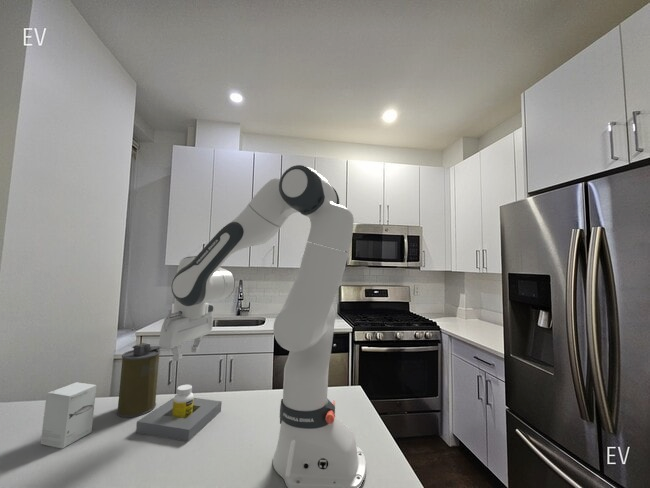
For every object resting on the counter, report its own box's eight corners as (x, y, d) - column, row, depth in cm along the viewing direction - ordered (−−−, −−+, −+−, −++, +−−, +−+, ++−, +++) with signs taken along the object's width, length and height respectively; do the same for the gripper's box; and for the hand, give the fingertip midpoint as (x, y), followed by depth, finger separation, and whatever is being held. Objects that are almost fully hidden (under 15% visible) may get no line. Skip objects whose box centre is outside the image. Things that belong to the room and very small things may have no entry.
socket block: (220, 411, 90) (221, 398, 90) (188, 441, 74) (189, 426, 74) (176, 404, 92) (177, 392, 93) (135, 433, 77) (137, 418, 77)
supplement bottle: (186, 427, 80) (188, 391, 81) (167, 426, 80) (170, 390, 81) (195, 416, 86) (197, 383, 86) (177, 415, 86) (180, 382, 87)
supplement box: (62, 449, 69) (68, 396, 70) (39, 444, 71) (45, 392, 72) (92, 432, 76) (97, 384, 77) (71, 428, 78) (76, 381, 79)
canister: (132, 420, 82) (138, 351, 84) (108, 413, 86) (114, 346, 87) (164, 404, 93) (169, 342, 94) (141, 398, 96) (146, 338, 98)
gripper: (175, 315, 75) (171, 368, 74) (217, 305, 95) (214, 347, 94) (154, 314, 76) (150, 366, 75) (200, 304, 96) (197, 345, 95)
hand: (186, 355), depth 85 cm, fingers open, 7 cm apart
